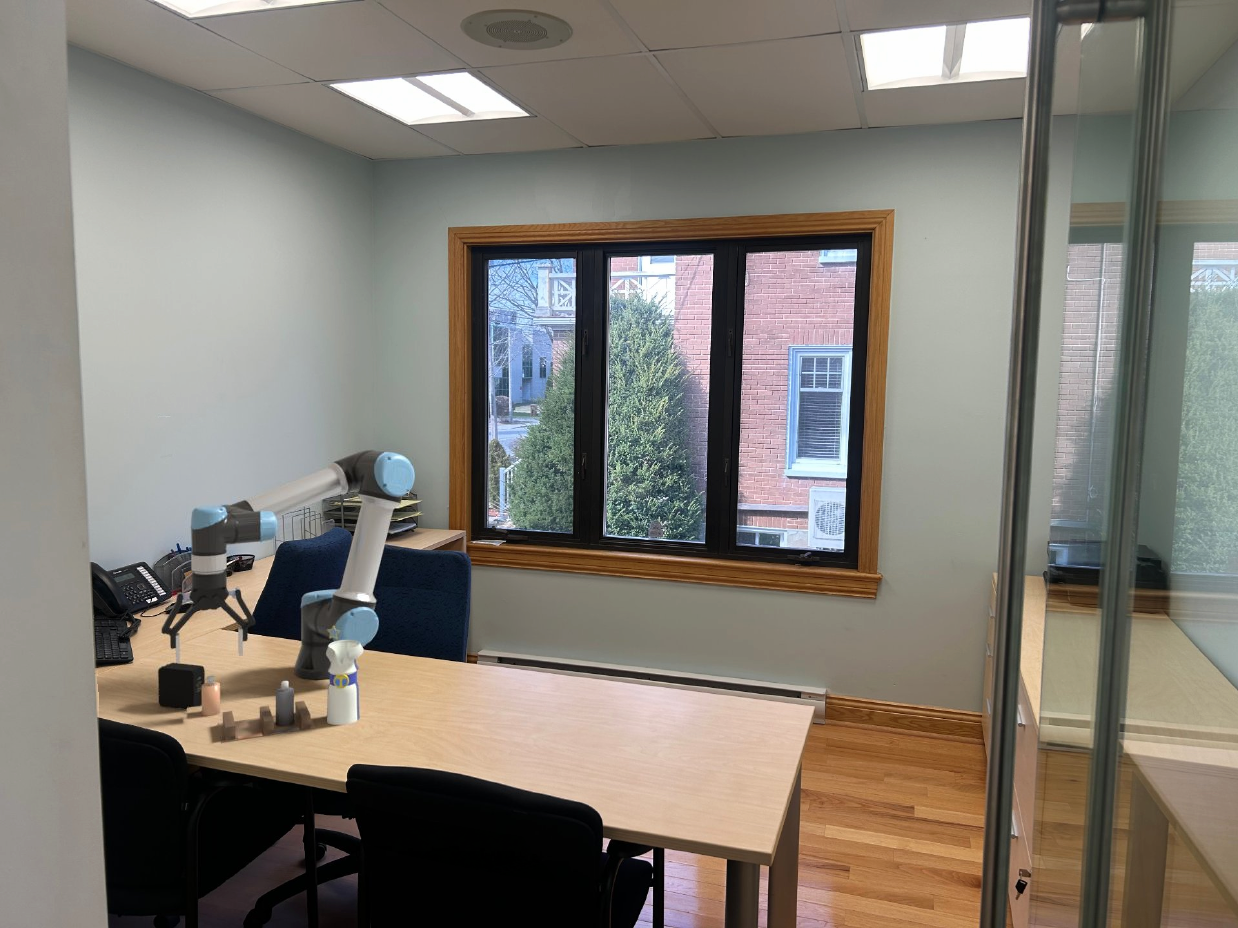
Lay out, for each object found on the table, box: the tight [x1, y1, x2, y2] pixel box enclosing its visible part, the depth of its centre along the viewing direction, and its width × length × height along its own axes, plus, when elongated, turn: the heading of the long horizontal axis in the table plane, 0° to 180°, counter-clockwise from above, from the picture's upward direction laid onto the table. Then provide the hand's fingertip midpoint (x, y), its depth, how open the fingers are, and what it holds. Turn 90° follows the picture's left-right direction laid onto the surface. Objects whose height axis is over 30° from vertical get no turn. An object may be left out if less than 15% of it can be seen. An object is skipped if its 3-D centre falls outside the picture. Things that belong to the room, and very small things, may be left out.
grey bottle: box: [275, 680, 295, 727], centre depth 196 cm, size 4×4×10 cm
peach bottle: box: [201, 675, 221, 717], centre depth 201 cm, size 4×4×10 cm
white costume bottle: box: [326, 625, 364, 726], centre depth 199 cm, size 8×9×25 cm
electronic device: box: [157, 662, 206, 710], centre depth 208 cm, size 4×10×10 cm, turn 79°
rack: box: [217, 700, 316, 744], centre depth 195 cm, size 20×12×4 cm, turn 119°
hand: (209, 657), depth 200 cm, fingers open, 13 cm apart
